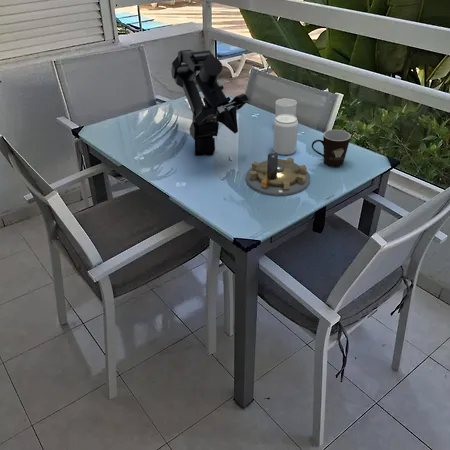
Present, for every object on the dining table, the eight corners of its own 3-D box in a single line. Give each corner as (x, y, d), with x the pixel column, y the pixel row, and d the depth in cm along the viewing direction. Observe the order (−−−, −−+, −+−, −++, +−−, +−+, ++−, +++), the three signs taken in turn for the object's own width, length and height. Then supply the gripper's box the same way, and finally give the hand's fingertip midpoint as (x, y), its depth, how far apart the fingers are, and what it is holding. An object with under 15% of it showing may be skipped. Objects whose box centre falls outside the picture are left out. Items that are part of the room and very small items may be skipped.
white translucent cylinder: (272, 123, 186) (273, 98, 180) (292, 122, 187) (294, 97, 181) (276, 132, 180) (277, 106, 174) (296, 130, 180) (298, 105, 175)
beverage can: (295, 156, 163) (297, 123, 156) (271, 155, 164) (272, 122, 158) (296, 146, 170) (299, 114, 163) (274, 144, 171) (275, 113, 164)
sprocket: (250, 190, 143) (250, 162, 137) (248, 162, 157) (248, 135, 152) (310, 189, 142) (313, 161, 137) (303, 161, 157) (305, 134, 152)
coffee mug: (348, 158, 161) (352, 131, 155) (344, 170, 154) (348, 142, 149) (313, 154, 164) (316, 127, 159) (309, 165, 158) (311, 137, 152)
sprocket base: (246, 196, 143) (247, 192, 142) (245, 164, 159) (245, 161, 158) (314, 195, 142) (314, 191, 142) (305, 163, 159) (305, 160, 158)
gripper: (220, 95, 160) (243, 135, 160) (177, 110, 149) (202, 153, 149) (236, 76, 151) (262, 119, 150) (192, 92, 140) (219, 137, 140)
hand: (236, 132), depth 148 cm, fingers closed
